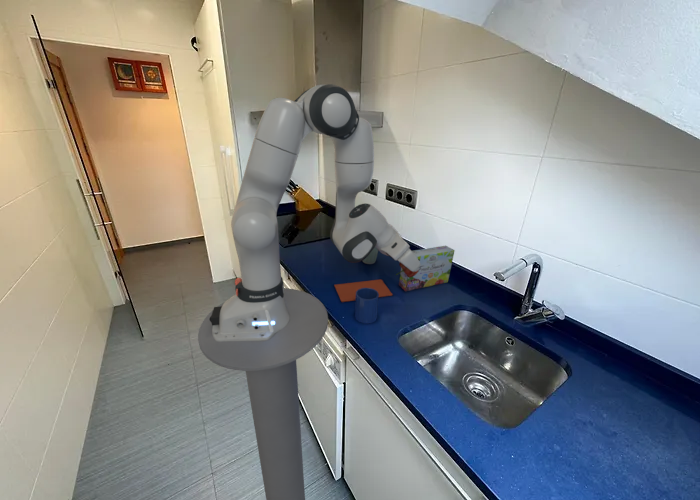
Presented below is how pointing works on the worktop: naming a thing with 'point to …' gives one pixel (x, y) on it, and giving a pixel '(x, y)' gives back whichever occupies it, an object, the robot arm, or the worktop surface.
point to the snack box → (429, 268)
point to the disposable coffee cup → (371, 257)
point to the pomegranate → (407, 270)
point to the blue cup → (366, 305)
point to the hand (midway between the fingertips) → (409, 264)
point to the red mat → (349, 289)
